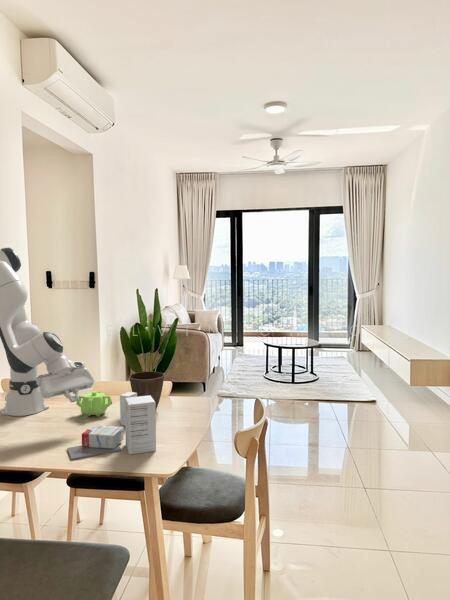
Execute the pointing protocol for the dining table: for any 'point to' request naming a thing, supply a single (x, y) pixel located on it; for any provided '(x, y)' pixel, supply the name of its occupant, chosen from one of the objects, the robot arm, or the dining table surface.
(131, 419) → the supplement box
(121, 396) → the skincare box
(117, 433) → the ink box
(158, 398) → the plant pot
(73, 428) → the dining table surface
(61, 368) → the robot arm
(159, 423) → the dining table surface
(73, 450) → the slate tile
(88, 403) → the teapot
